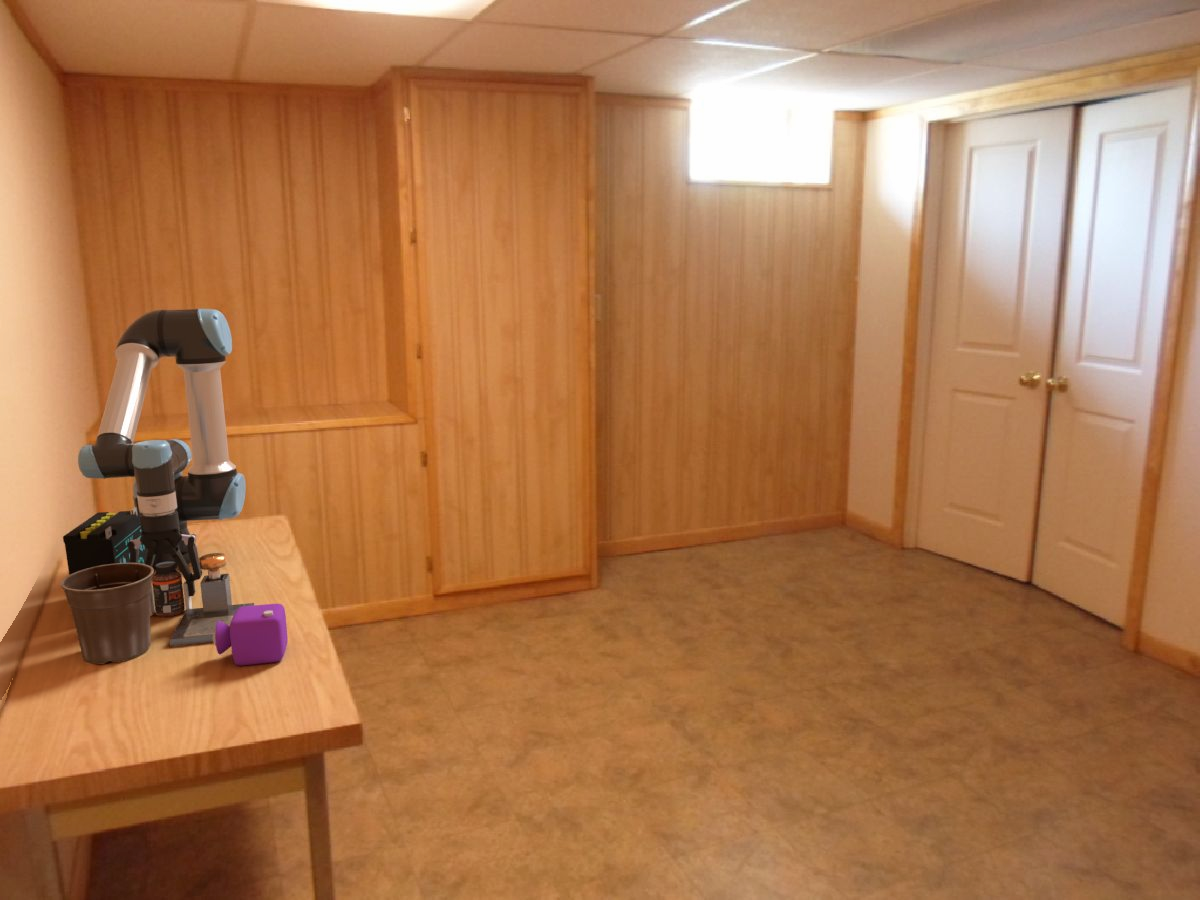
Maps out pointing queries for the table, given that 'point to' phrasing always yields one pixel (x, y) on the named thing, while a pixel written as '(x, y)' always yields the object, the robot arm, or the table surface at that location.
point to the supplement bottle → (168, 590)
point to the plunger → (213, 565)
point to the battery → (103, 540)
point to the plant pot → (111, 610)
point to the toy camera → (254, 634)
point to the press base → (207, 613)
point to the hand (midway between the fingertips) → (170, 611)
